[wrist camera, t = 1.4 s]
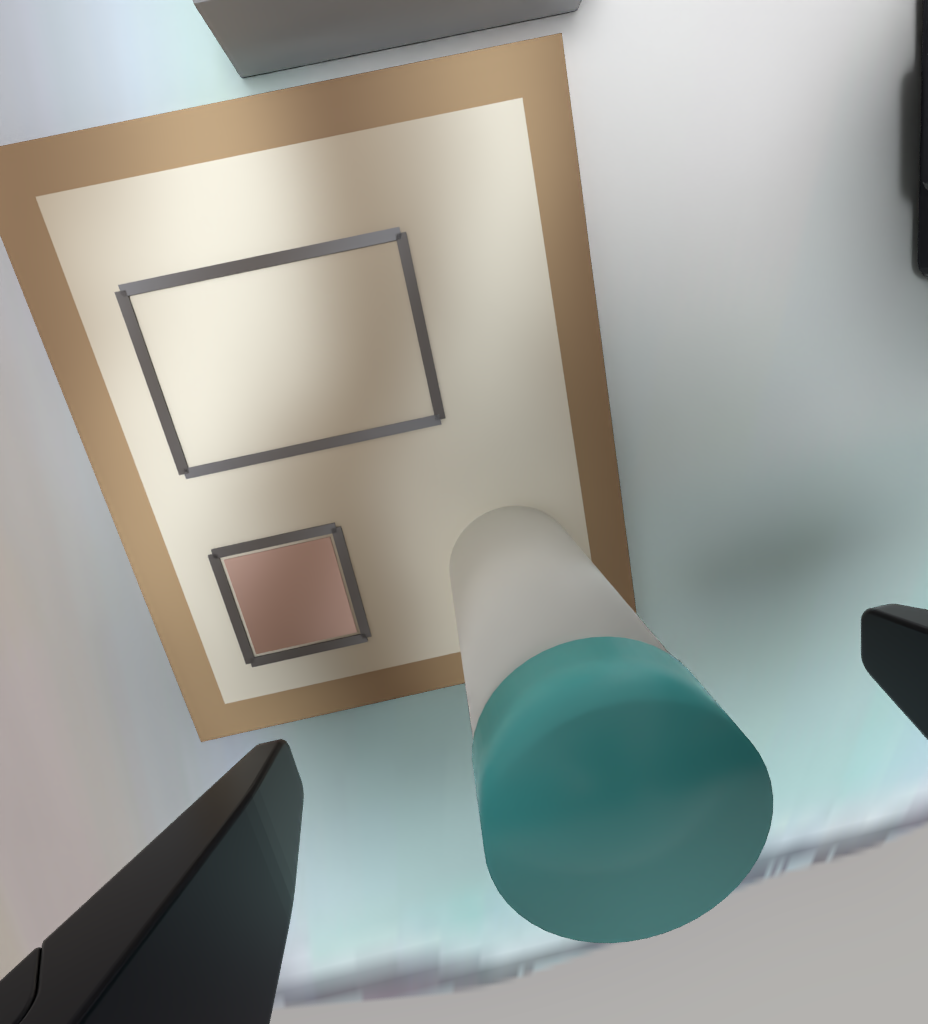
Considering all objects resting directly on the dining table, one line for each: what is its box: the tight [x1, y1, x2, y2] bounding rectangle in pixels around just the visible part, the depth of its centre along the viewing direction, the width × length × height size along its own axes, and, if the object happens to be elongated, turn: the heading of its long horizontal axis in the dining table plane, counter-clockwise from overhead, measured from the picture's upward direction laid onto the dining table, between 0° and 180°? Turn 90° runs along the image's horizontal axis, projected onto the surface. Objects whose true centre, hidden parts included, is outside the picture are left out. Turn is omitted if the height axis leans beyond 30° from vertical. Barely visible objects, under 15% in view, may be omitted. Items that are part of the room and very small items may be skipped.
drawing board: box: [0, 33, 636, 742], centre depth 13 cm, size 12×14×1 cm
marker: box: [449, 506, 773, 943], centre depth 10 cm, size 3×3×8 cm
